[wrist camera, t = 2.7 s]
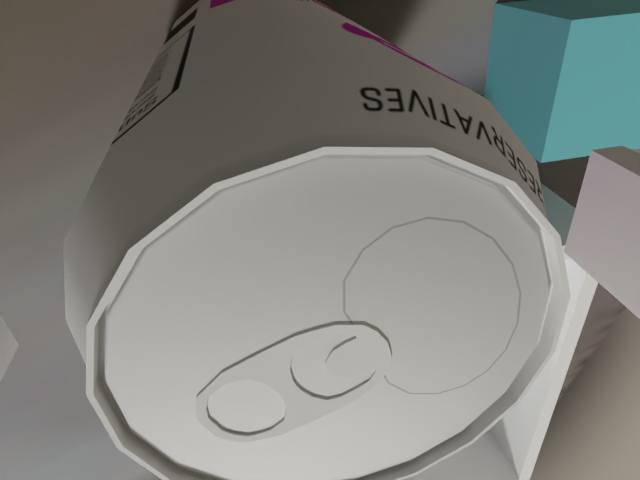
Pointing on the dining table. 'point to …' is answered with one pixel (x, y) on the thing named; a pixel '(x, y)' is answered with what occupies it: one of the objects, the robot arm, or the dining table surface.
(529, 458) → the tote
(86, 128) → the dining table surface
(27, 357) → the dining table surface
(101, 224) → the supplement can
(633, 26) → the cube
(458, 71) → the dining table surface
